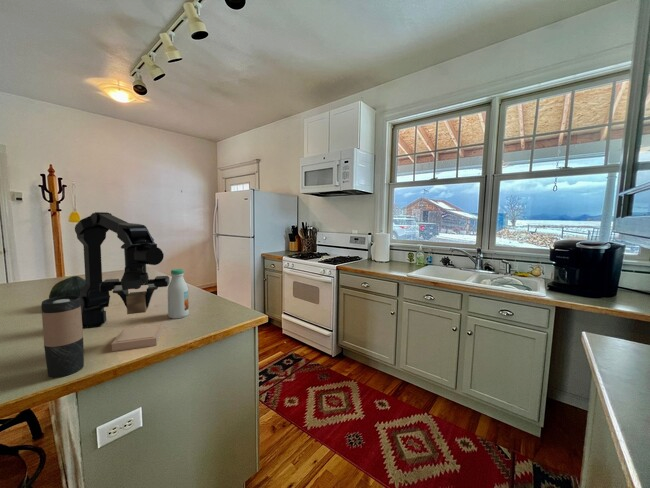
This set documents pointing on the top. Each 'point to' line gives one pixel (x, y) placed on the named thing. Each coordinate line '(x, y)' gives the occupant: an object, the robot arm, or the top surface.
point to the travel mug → (63, 335)
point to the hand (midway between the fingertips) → (138, 308)
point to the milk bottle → (177, 295)
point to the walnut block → (136, 302)
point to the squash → (68, 287)
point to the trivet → (137, 337)
